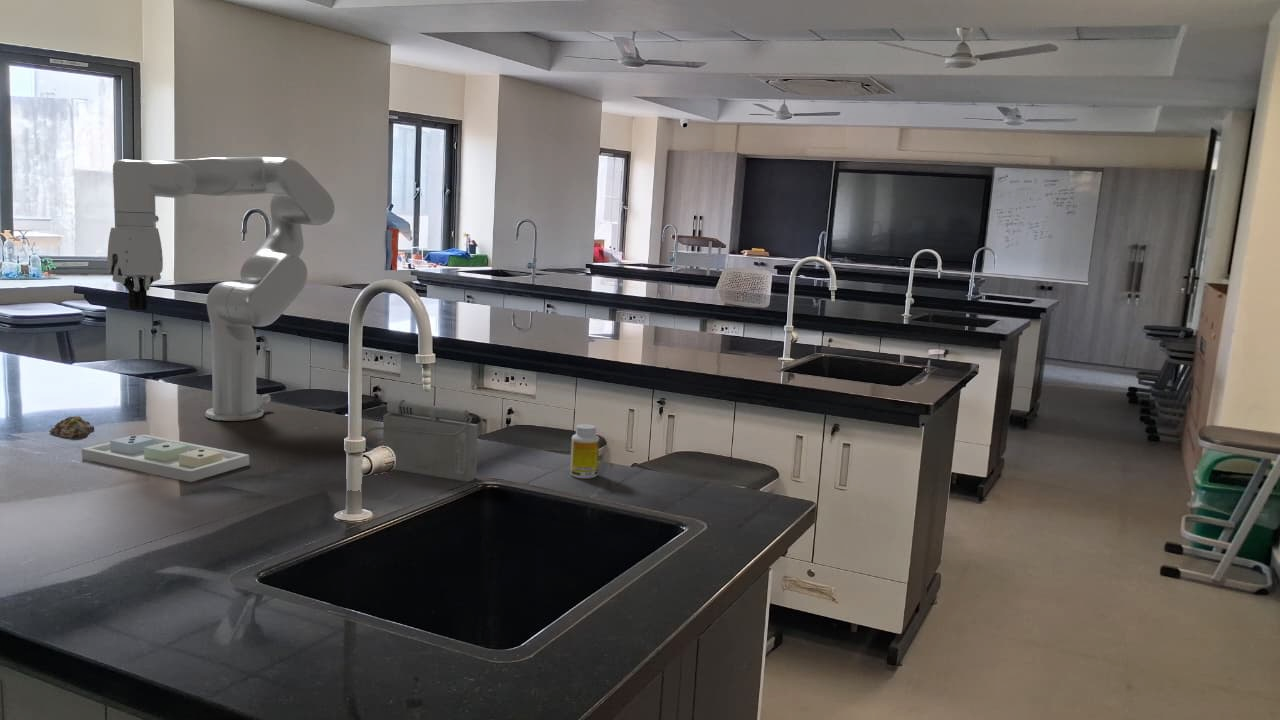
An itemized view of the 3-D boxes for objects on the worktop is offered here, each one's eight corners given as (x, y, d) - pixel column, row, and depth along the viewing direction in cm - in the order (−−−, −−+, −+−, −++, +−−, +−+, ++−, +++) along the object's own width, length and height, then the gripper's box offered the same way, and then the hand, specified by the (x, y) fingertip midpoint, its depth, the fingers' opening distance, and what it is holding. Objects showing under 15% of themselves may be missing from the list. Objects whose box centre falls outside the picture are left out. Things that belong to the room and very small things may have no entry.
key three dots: (134, 444, 191) (134, 434, 190) (154, 448, 189) (153, 438, 188) (110, 450, 186) (110, 439, 185) (130, 454, 184) (130, 443, 183)
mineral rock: (43, 420, 202) (85, 407, 206) (50, 438, 203) (91, 425, 208) (51, 433, 194) (94, 419, 198) (59, 452, 195) (101, 437, 200)
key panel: (144, 443, 196) (144, 434, 195) (249, 464, 185) (249, 454, 185) (82, 458, 183) (81, 448, 182) (190, 482, 172) (190, 471, 172)
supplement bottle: (601, 479, 190) (603, 429, 188) (574, 480, 188) (576, 429, 186) (592, 471, 195) (595, 422, 193) (566, 472, 193) (568, 423, 191)
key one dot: (167, 451, 187) (167, 440, 187) (187, 455, 185) (187, 444, 185) (144, 457, 182) (143, 446, 182) (164, 461, 180) (164, 450, 180)
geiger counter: (482, 407, 184) (372, 392, 192) (466, 413, 178) (353, 397, 186) (480, 477, 186) (371, 459, 194) (463, 485, 180) (352, 466, 188)
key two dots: (201, 458, 184) (201, 447, 184) (222, 462, 182) (222, 451, 182) (178, 464, 179) (178, 453, 179) (200, 468, 177) (200, 457, 177)
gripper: (152, 220, 204) (155, 305, 207) (89, 219, 190) (93, 310, 193) (178, 222, 201) (180, 308, 204) (116, 222, 187) (119, 314, 190)
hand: (138, 309), depth 199 cm, fingers closed
